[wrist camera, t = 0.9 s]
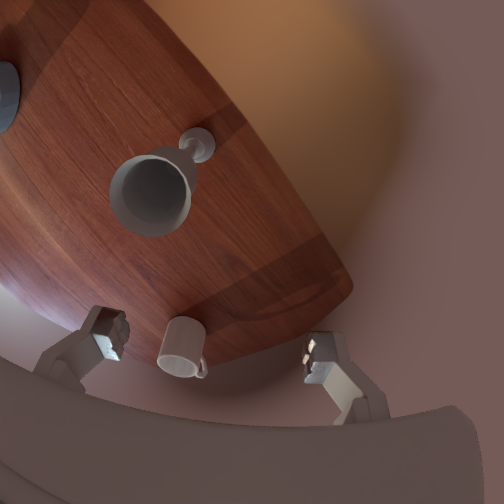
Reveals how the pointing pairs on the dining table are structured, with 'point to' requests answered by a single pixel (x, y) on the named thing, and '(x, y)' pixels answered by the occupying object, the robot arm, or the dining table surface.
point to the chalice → (160, 185)
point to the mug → (183, 348)
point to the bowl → (8, 94)
